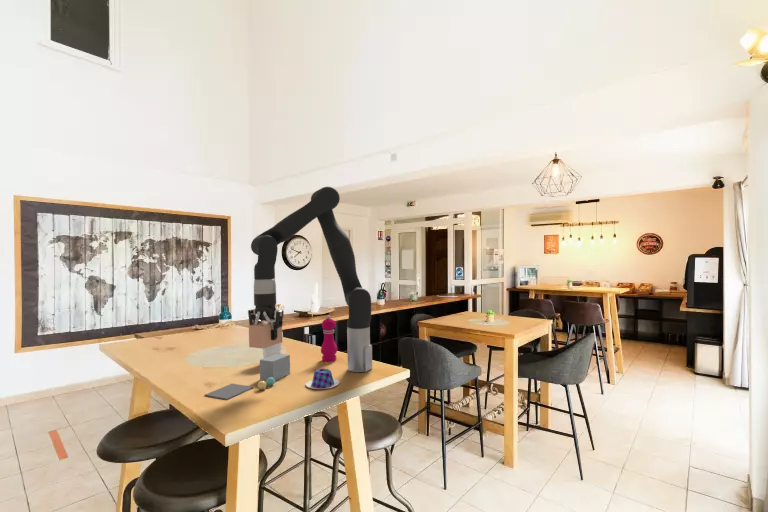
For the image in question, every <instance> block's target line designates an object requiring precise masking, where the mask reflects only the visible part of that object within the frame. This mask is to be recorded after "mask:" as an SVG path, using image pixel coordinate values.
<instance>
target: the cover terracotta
mask: <svg viewBox="0 0 768 512" xmlns="http://www.w3.org/2000/svg"><path fill="white" fill-rule="evenodd" d="M273 325H274V323H273ZM271 330H272V329H271V324H268V323H267V321H263V322H262V323H258V324H253V325H250V324H248V343H249V344H248V347H249V348H252V349H253V348H255V349H262V348H263V349H264V348H267V347H269V346H272V345H275V344H278V343H281V342H282V343H283V339H282V332H283V326H282V327H280V328H278V329H277V339H276V340H271Z"/></svg>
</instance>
